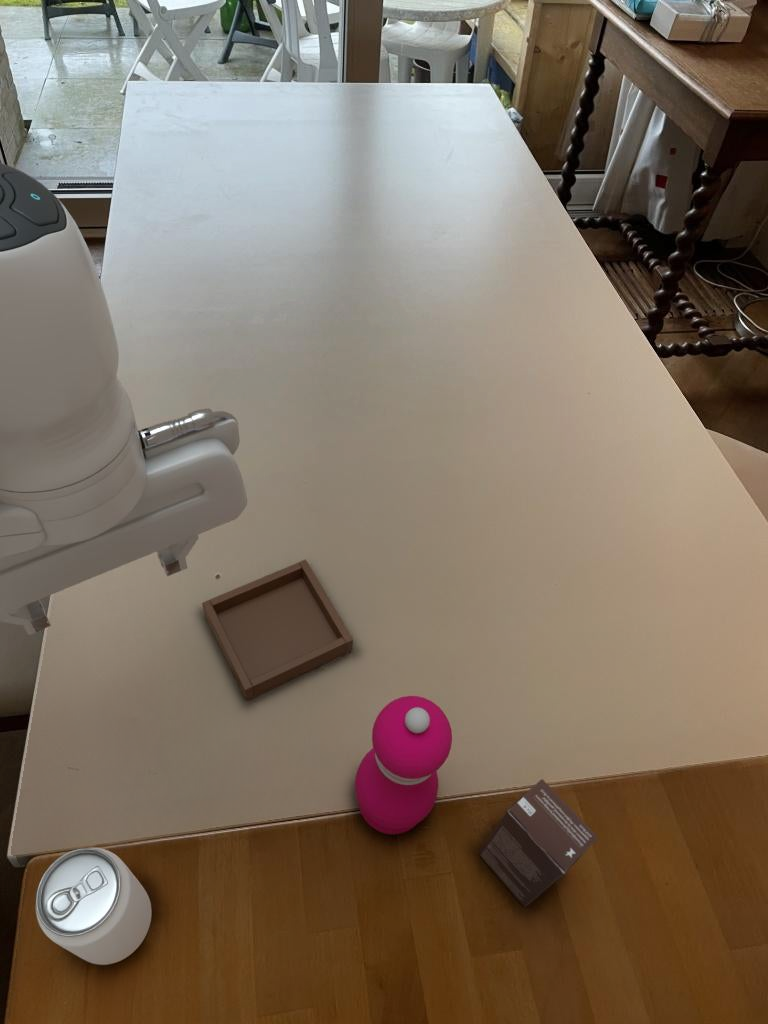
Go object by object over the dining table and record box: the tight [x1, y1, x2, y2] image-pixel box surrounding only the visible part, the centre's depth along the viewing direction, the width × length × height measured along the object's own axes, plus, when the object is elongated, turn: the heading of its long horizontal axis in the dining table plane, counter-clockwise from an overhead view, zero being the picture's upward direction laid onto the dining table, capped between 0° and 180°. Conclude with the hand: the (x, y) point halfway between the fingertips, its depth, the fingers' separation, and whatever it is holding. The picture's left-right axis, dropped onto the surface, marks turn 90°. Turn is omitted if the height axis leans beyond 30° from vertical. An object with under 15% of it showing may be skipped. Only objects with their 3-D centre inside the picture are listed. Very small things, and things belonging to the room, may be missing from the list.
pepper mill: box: [354, 695, 453, 835], centre depth 63 cm, size 7×7×20 cm
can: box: [35, 847, 152, 966], centre depth 59 cm, size 6×6×12 cm
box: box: [477, 778, 598, 908], centre depth 64 cm, size 6×4×12 cm
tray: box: [201, 559, 354, 701], centre depth 79 cm, size 12×11×2 cm
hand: (107, 593), depth 53 cm, fingers open, 8 cm apart
